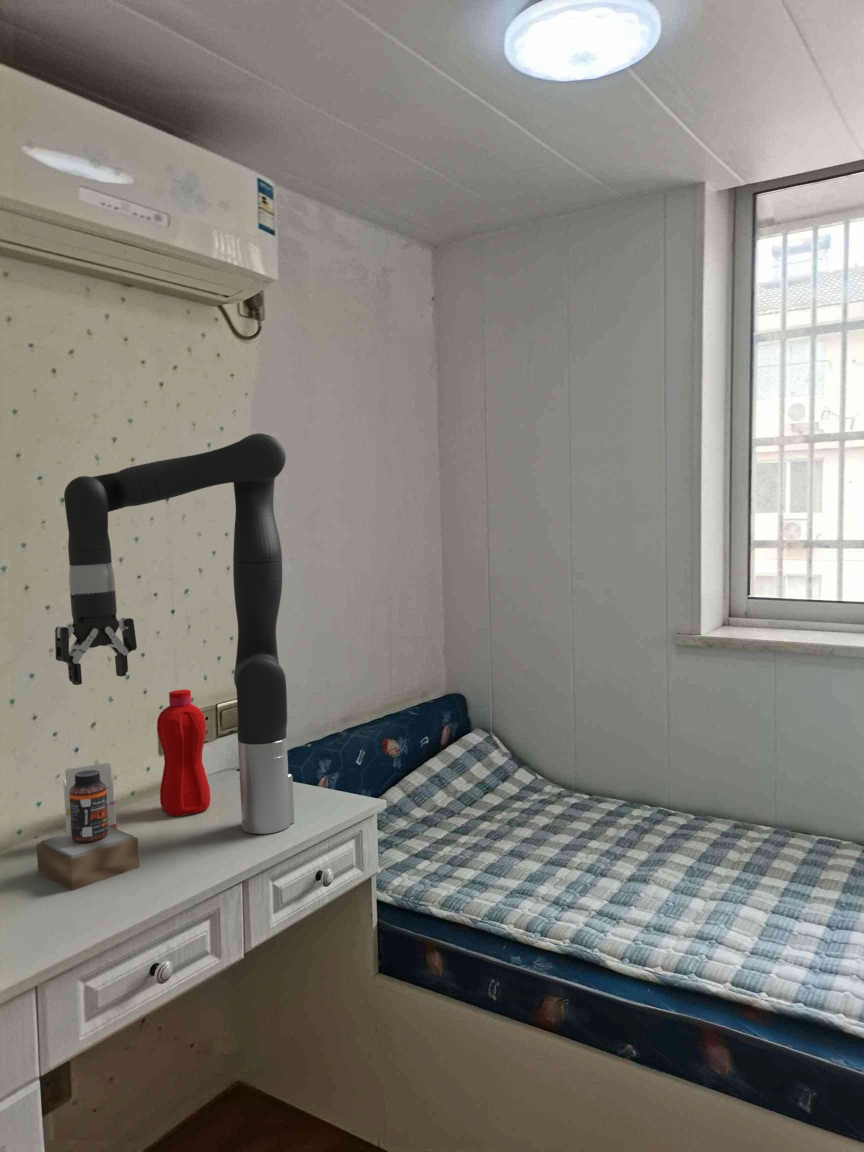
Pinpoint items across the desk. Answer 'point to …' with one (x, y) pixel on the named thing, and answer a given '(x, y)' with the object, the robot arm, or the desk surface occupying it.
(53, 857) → the wooden rimmed tray
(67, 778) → the ink cartridge box
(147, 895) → the desk surface
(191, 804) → the water bottle
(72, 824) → the supplement bottle
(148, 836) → the desk surface
